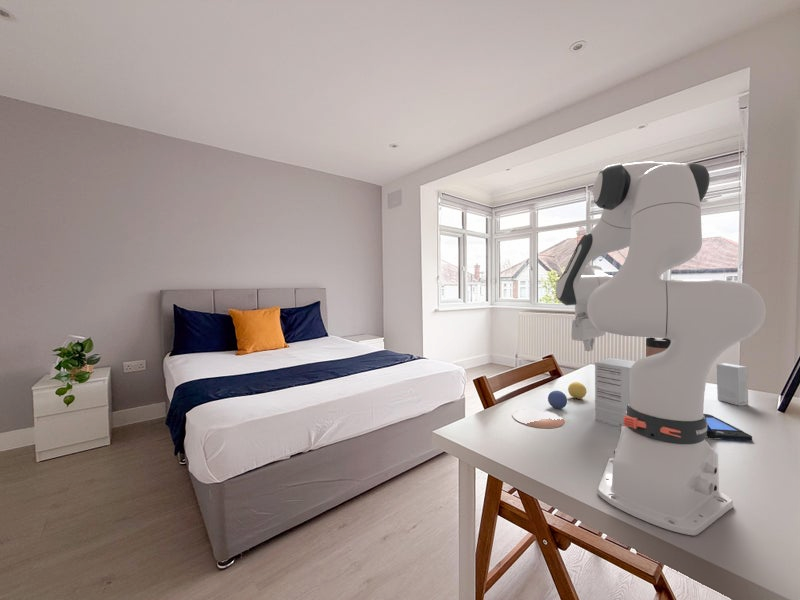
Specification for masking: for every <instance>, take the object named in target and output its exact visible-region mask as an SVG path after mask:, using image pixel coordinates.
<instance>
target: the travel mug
mask: <svg viewBox="0 0 800 600" xmlns="http://www.w3.org/2000/svg"><path fill="white" fill-rule="evenodd" d="M670 343H671V341H670V340H669V339H665V338H659V339H658V338H655V337H645V357H648V356H651V355H655V354H658V353H661V352H663V351H665V350H666V349H667V348H668V347H669V345H670Z"/></svg>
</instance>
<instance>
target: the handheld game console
mask: <svg viewBox="0 0 800 600" xmlns="http://www.w3.org/2000/svg"><path fill="white" fill-rule="evenodd" d="M703 415H704V416H705V417H706V422H707V427H708V429H707V437H706V438H708V439H710V440H726V441H727V440H728V441H738V442H739V441H741V442H742V441H743V442H744V441H745V442H751V441H753V436H752V435H751V434H749V433H747V432H745V431H744V430H742V429H740V428H737V427H735V426H734V425H731V423H727V422H726V421H724V420H722V419H720V418H718V417H715V416H714V415H712V414H706V413H703Z"/></svg>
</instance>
